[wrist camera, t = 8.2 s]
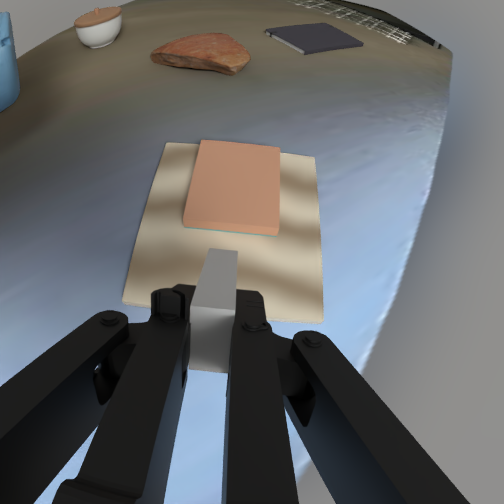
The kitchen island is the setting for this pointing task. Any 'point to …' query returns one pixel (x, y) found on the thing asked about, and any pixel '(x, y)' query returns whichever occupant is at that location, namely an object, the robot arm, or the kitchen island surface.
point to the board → (232, 241)
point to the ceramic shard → (204, 53)
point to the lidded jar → (99, 26)
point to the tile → (235, 189)
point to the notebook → (313, 38)
